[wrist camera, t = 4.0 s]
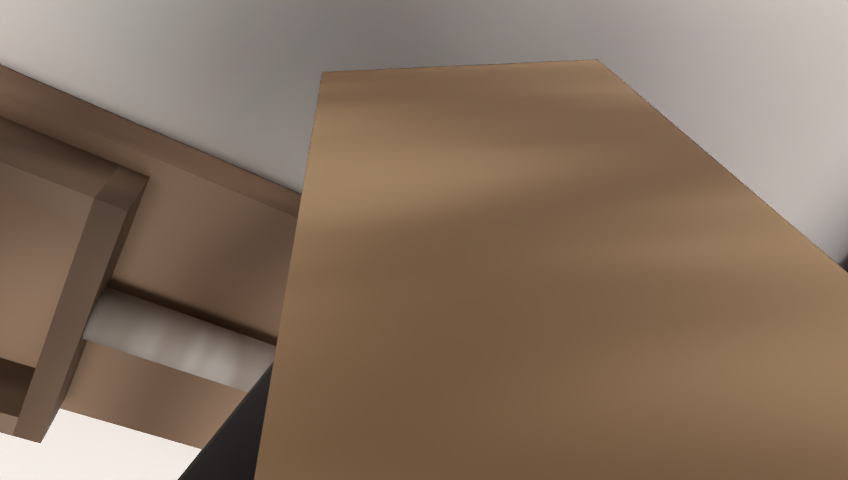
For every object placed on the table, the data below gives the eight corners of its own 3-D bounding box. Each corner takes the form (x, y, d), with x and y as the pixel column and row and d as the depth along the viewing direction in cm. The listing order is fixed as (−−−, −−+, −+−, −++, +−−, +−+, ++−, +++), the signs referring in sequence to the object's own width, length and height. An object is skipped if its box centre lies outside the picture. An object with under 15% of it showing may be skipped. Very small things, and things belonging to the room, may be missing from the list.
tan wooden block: (627, 58, 9) (1237, 517, 3) (581, 396, 12) (818, 968, 6) (321, 72, 8) (232, 615, 2) (356, 413, 11) (353, 1030, 5)
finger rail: (597, 322, 24) (703, 529, 16) (458, 493, 28) (494, 720, 21) (-163, -5, 16) (-583, 106, 9) (-201, 292, 20) (-512, 535, 13)
